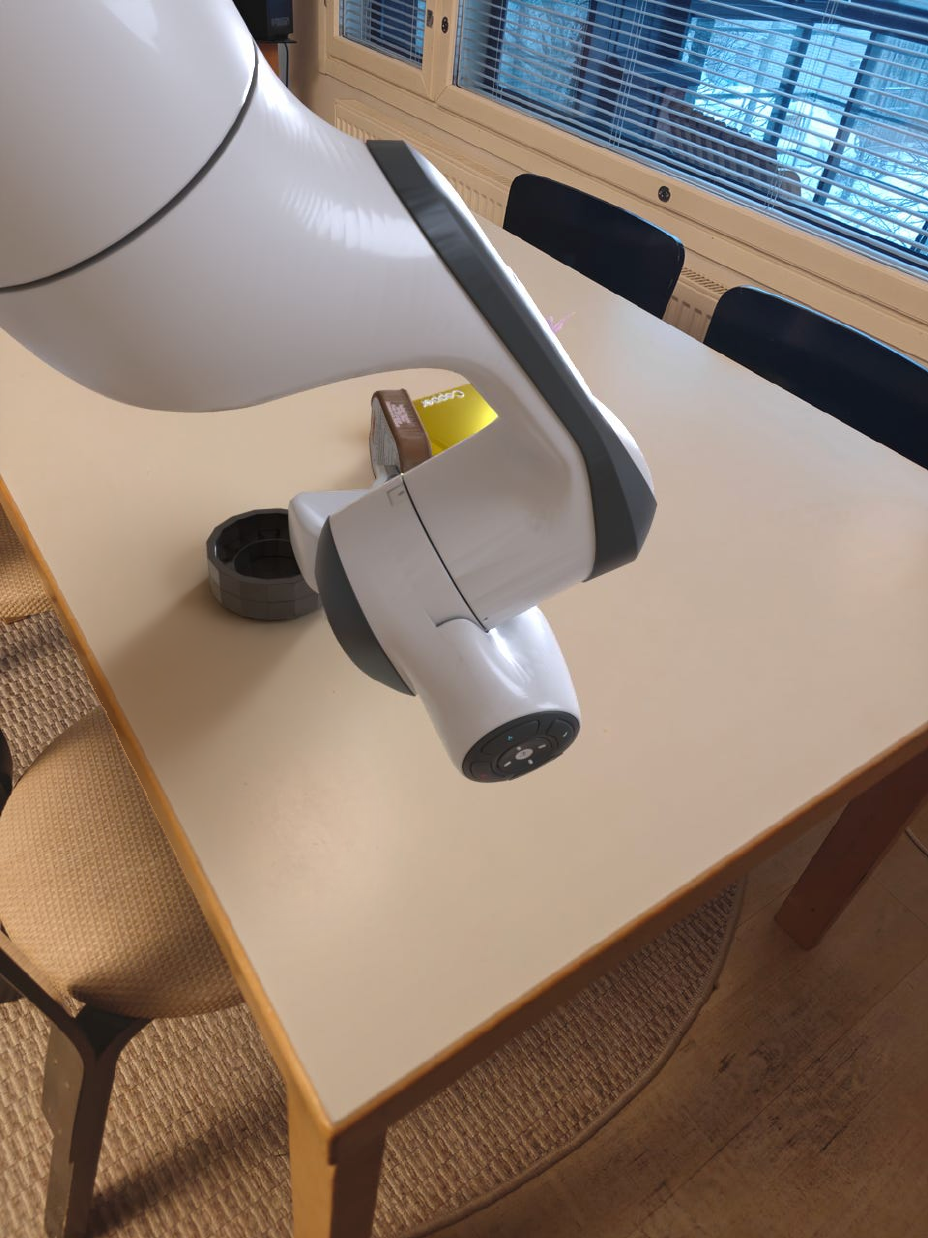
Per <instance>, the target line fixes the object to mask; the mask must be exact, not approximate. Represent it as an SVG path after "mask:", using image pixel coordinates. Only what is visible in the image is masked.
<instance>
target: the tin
mask: <svg viewBox="0 0 928 1238" xmlns="http://www.w3.org/2000/svg"><path fill="white" fill-rule="evenodd" d="M412 401H413V400H412V398H411V395H410V394H409V391H408V390H407V389H406V388H400V389H379V390H376V391H374V392H373V394H372V396H371V400H370V406H371V415H370V416H371V417H370V432H369V436H368V446H369V457H370V461H371V468H372V472H373V477H374V481H375V480H376V473H377V465H396V467H397V470H398V472H399V474H401V473H403V474H404V473H405V472H407V471H409V470H411V469H412V468H414V467H416V466H418V465H420V464H421V463H423V462H425V461H427V460H428V459H430V458H432V457H433V453H432V448H431V444H430V440H429V437H428V434H427V432H426V430H425V428H424V426H423V424H422V422H421V419H420V418H419V415H418V413H417V411H416V409H415V407H414V404H413V402H412Z"/></svg>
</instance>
